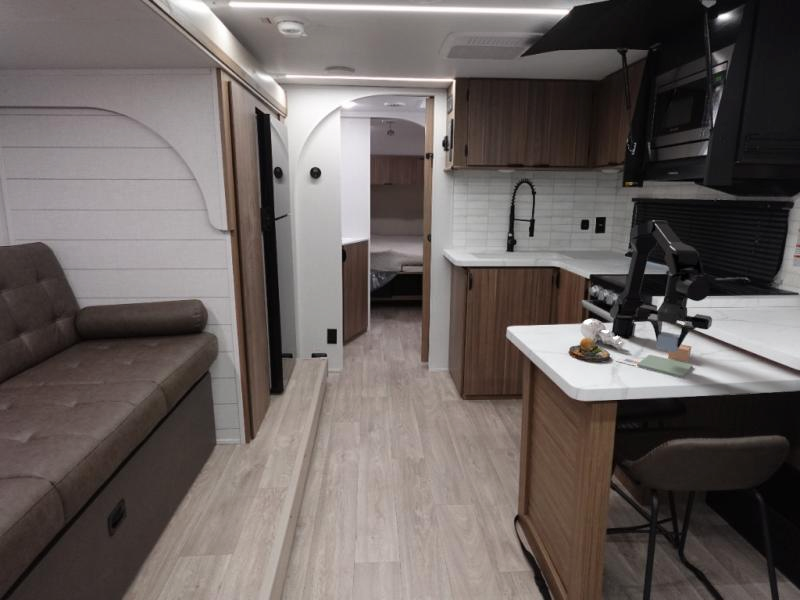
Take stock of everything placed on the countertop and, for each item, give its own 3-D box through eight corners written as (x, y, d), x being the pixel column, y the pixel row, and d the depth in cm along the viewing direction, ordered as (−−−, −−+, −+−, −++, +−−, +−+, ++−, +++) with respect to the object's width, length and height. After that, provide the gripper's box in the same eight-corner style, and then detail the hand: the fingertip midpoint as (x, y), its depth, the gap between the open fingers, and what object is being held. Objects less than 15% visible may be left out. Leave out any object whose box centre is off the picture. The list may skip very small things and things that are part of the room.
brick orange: (667, 358, 154) (670, 346, 153) (671, 354, 157) (673, 342, 157) (686, 362, 151) (688, 350, 150) (689, 358, 154) (691, 346, 153)
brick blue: (660, 344, 148) (662, 331, 147) (679, 348, 145) (681, 335, 144) (656, 348, 144) (658, 334, 143) (675, 352, 141) (677, 338, 140)
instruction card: (616, 361, 149) (616, 360, 149) (622, 356, 154) (622, 356, 154) (644, 368, 144) (644, 367, 144) (650, 363, 148) (650, 362, 148)
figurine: (621, 327, 156) (586, 308, 169) (604, 344, 156) (571, 323, 168) (630, 345, 163) (596, 325, 175) (614, 361, 162) (582, 340, 175)
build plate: (637, 366, 145) (637, 364, 145) (649, 356, 154) (649, 354, 154) (682, 378, 138) (682, 375, 137) (692, 367, 146) (692, 364, 146)
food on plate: (617, 362, 149) (620, 338, 147) (582, 364, 147) (585, 340, 145) (593, 349, 161) (596, 327, 159) (561, 351, 158) (563, 328, 156)
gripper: (633, 291, 141) (625, 343, 144) (708, 303, 129) (698, 359, 133) (645, 286, 149) (637, 335, 153) (717, 296, 137) (707, 350, 141)
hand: (668, 344), depth 144 cm, fingers closed on brick blue, 5 cm apart
